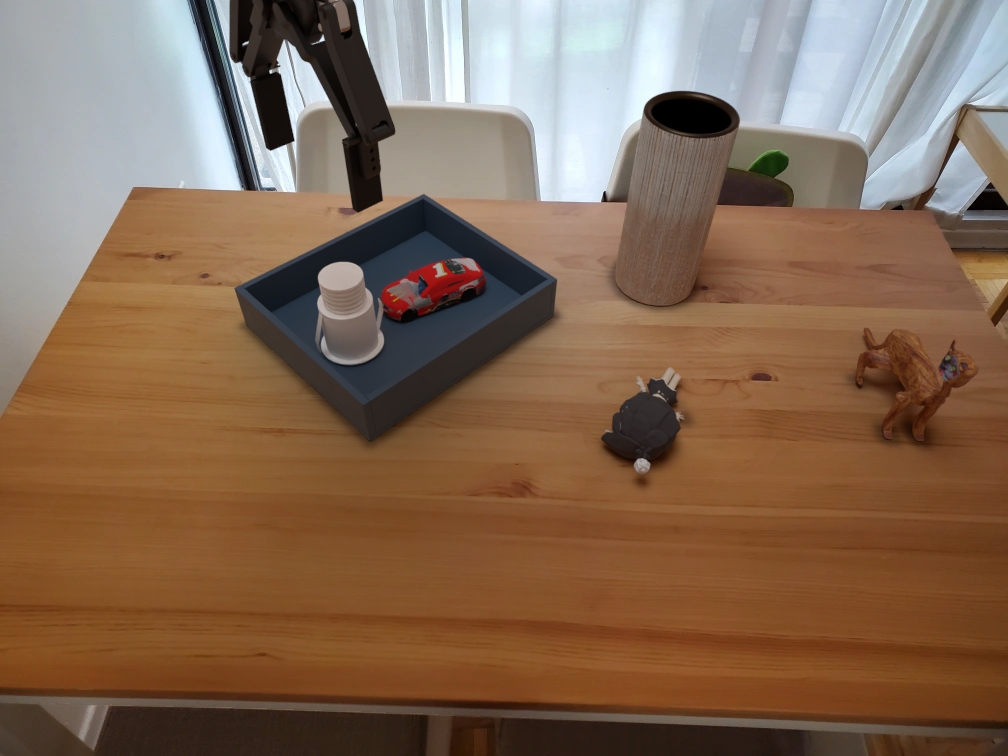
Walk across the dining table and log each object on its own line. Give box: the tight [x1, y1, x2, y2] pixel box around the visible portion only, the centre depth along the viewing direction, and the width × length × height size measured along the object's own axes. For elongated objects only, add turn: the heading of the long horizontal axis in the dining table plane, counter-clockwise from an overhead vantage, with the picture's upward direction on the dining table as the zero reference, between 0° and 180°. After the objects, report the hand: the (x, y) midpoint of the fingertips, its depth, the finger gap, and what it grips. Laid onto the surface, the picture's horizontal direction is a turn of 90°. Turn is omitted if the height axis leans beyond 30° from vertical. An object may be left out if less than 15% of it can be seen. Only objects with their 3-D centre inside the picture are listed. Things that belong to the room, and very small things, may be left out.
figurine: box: [600, 366, 685, 475], centre depth 73 cm, size 7×6×15 cm
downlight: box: [315, 262, 384, 365], centre depth 78 cm, size 8×7×10 cm
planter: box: [614, 90, 741, 306], centre depth 83 cm, size 10×10×23 cm
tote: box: [234, 193, 558, 443], centre depth 83 cm, size 28×24×6 cm
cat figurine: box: [855, 327, 980, 442], centre depth 75 cm, size 18×7×14 cm, turn 177°
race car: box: [380, 258, 486, 322], centre depth 86 cm, size 13×5×4 cm, turn 118°
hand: (322, 173), depth 65 cm, fingers open, 13 cm apart
